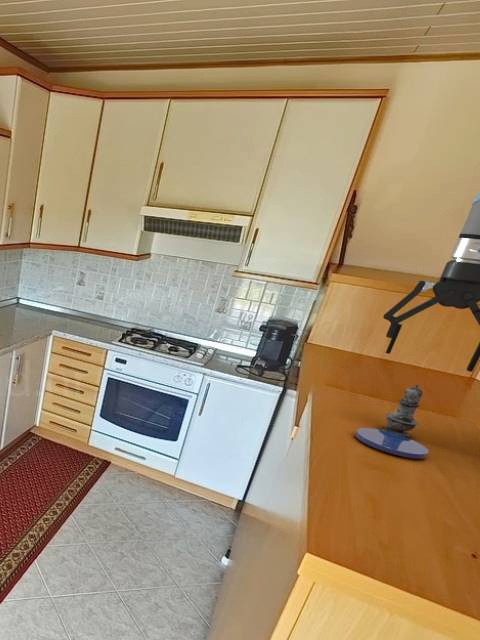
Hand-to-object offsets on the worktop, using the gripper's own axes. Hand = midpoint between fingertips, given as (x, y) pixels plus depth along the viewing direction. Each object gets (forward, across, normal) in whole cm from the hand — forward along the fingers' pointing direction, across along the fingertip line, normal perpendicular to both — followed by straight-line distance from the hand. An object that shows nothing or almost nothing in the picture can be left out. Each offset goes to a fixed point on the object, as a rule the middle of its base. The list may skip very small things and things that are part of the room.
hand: (426, 361), depth 106 cm
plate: (+17, 0, -13) cm, 21 cm away
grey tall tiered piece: (+17, 0, 0) cm, 17 cm away
